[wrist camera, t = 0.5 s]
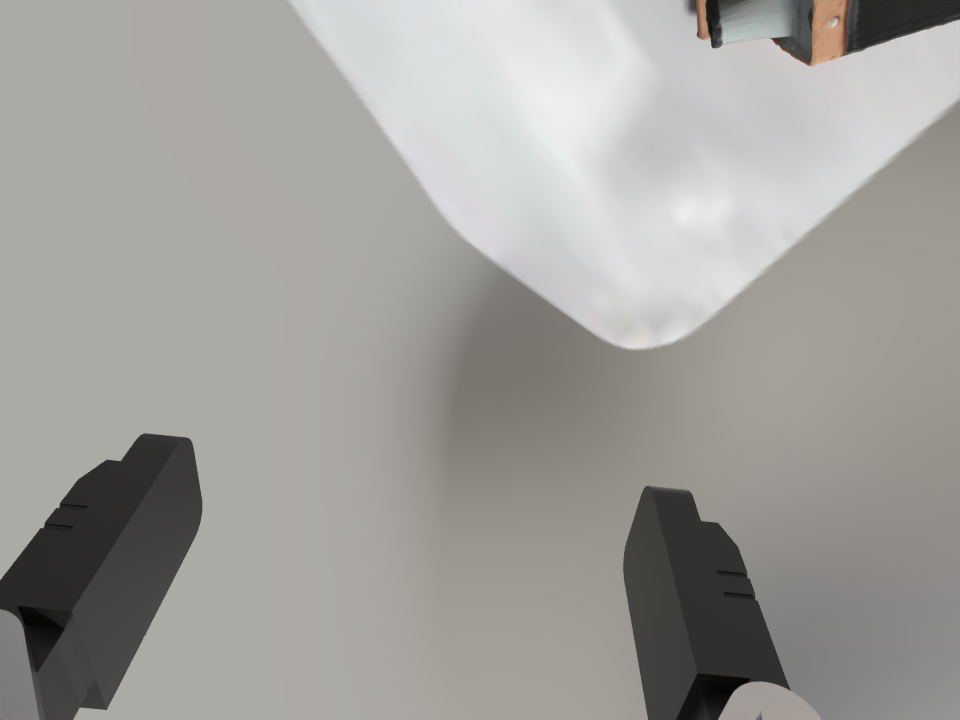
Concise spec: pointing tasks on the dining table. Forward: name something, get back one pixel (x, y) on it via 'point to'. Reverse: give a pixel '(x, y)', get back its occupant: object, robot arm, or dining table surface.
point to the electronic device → (819, 23)
